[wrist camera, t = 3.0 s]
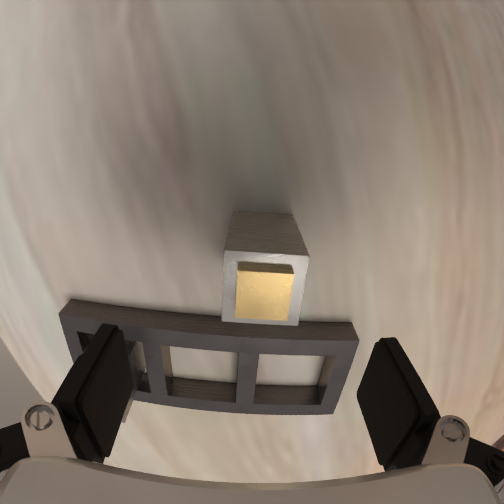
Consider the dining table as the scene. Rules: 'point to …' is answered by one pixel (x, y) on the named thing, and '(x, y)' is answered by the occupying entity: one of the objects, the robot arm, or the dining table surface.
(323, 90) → the dining table surface
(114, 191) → the dining table surface
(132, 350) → the grey tan rectangular block
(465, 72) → the dining table surface
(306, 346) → the rail
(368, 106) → the dining table surface
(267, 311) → the brushed metal block
